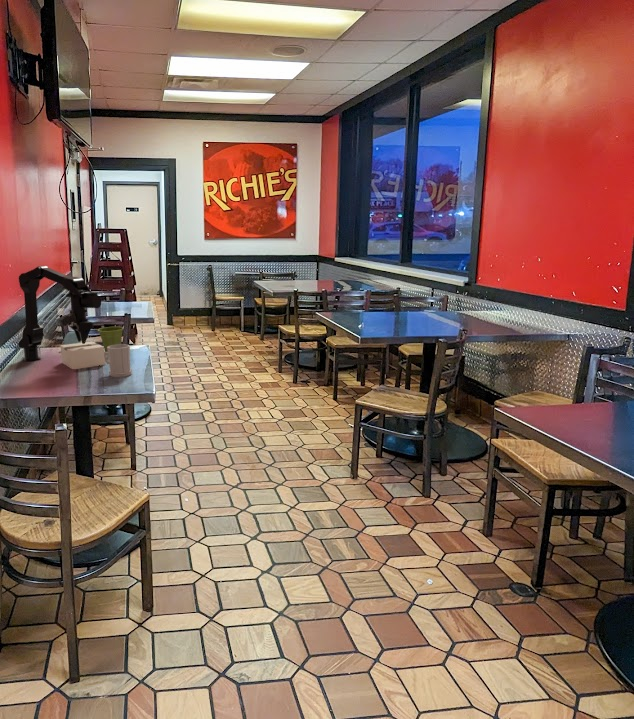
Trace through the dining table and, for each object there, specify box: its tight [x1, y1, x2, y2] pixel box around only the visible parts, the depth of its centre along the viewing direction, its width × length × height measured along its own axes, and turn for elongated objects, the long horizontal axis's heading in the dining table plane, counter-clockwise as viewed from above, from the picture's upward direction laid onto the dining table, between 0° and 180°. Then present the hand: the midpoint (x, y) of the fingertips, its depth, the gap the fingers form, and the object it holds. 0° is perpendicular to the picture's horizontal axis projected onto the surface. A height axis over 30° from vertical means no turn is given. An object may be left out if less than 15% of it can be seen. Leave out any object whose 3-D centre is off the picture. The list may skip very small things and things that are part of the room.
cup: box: [104, 343, 133, 378], centre depth 261 cm, size 10×9×12 cm
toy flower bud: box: [63, 330, 82, 345], centre depth 315 cm, size 7×9×12 cm
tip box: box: [59, 341, 106, 370], centre depth 282 cm, size 16×14×8 cm
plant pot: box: [97, 326, 124, 353], centre depth 306 cm, size 12×12×11 cm
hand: (81, 342), depth 281 cm, fingers open, 6 cm apart
